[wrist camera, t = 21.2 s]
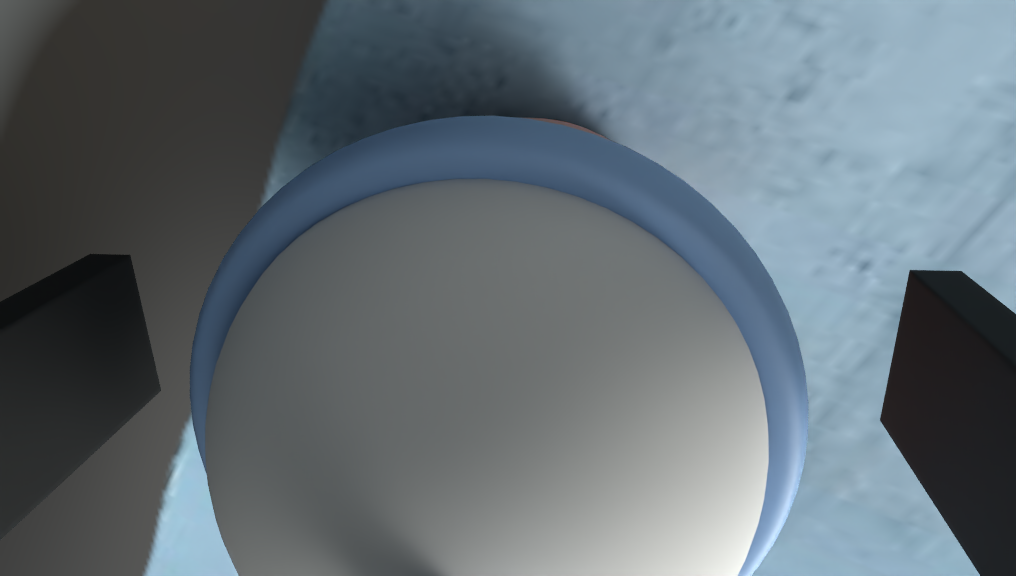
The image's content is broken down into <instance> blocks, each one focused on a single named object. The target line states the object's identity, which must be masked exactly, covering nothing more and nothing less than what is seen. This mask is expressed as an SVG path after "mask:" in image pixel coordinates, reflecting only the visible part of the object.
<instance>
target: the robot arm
mask: <svg viewBox="0 0 1016 576" xmlns="http://www.w3.org/2000/svg"><path fill="white" fill-rule="evenodd" d="M160 391H161V388H160V384H159V379H158V375H157V371H156V366H155V362H154V357H153V353H152V349H151V344H150V340H149V335H148V331H147V327H146V322H145V318H144V314H143V309H142V305H141V300H140V296H139V292H138V287H137V283H136V279H135V274H134V270H133V265H132V261H131V257H130V255H106V254H90V255H88V256H86V257H84V258H82V259H80V260H78V261H76V262H74V263H73V264H71V265H69V266H67V267H65V268H63V269H61V270H59V271H57V272H56V273H54V274H52V275H50V276H48V277H46V278H44V279H42V280H41V281H39V282H37V283H35V284H33V285H31V286H29V287H28V288H25V289H24V290H22V291H20V292H18V293H16V294H14V295H13V296H11V297H9V298H7V299H5V300H3V301H1V302H0V540H1V539H2V538H3V537H4V536H5V535H6V534H7V533H8V532H9V531H10V530H12V528H14V527H15V526H16V525H17V524H18V523H19V522H20V521H21V520H22V519H23V518H24V517H25V516H27V515H28V514H29V513H30V512H31V511H32V510H33V509H34V508H35V507H36V506H37V505H38V504H40V503H41V502H42V501H43V500H44V499H45V498H46V497H47V496H48V495H49V494H50V493H51V492H52V491H53V490H55V489H56V488H57V487H58V486H59V485H60V484H61V483H62V482H63V481H64V480H65V479H66V478H67V477H68V476H70V475H71V474H72V473H73V472H74V471H75V470H76V469H77V468H78V467H79V466H80V465H81V464H83V463H84V462H85V461H86V460H87V459H88V458H89V457H90V456H91V455H92V454H93V453H94V452H95V451H97V450H98V449H99V448H100V447H101V446H102V445H103V444H104V443H105V442H106V441H107V440H108V439H109V438H110V437H112V435H114V434H115V433H116V432H117V431H118V430H119V429H120V428H121V427H122V426H123V425H125V423H127V422H128V421H129V420H130V419H131V418H132V417H133V416H134V415H135V414H136V413H137V412H138V411H140V409H142V408H143V407H144V406H145V405H146V404H147V403H148V402H149V401H150V400H151V399H152V398H153V397H155V395H157V394H158V393H159V392H160ZM880 421H881V422H882V424H883V425H884V427H885V429H886V430H887V432H888V433H889V435H890V436H891V438H892V439H893V441H894V443H895V444H896V446H897V447H898V449H899V450H900V452H901V453H902V455H903V456H904V458H905V460H906V461H907V463H908V464H909V466H910V467H911V469H912V470H913V472H914V473H915V475H916V477H917V478H918V480H919V481H920V483H921V484H922V486H923V487H924V489H925V491H926V492H927V494H928V495H929V497H930V498H931V500H932V501H933V503H934V504H935V506H936V508H937V509H938V511H939V512H940V514H941V515H942V517H943V518H944V520H945V522H946V523H947V525H948V526H949V528H950V529H951V531H952V532H953V534H954V535H955V537H956V539H957V540H958V542H959V543H960V545H961V546H962V548H963V549H964V551H965V552H966V554H967V556H968V557H969V559H970V560H971V562H972V563H973V565H974V566H975V568H976V570H977V571H978V573H979V574H980V576H1016V314H1015V313H1014V312H1012V311H1011V310H1010V309H1009V308H1007V307H1006V306H1005V305H1004V304H1002V303H1001V302H1000V301H998V300H997V299H996V298H995V297H993V296H992V295H991V294H990V293H988V292H987V291H986V290H985V289H983V288H982V287H981V286H980V285H978V284H977V283H976V282H974V281H973V280H972V279H971V278H969V277H968V276H967V275H966V274H964V273H963V272H962V271H927V270H910V272H909V277H908V282H907V287H906V292H905V297H904V302H903V307H902V312H901V317H900V322H899V327H898V332H897V337H896V342H895V347H894V352H893V358H892V363H891V368H890V373H889V378H888V383H887V388H886V393H885V398H884V403H883V408H882V413H881V418H880Z"/></svg>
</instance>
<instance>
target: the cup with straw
mask: <svg viewBox="0 0 1016 576" xmlns="http://www.w3.org/2000/svg"><path fill="white" fill-rule="evenodd" d="M190 400H191V410H192V419H193V426H194V431H195V435H196V440H197V445H198V449H199V452H200V455H201V458H202V461H203V465H204V468H205V471H206V473H207V480H208V486H209V491H210V496H211V500H212V505H213V509H214V513H215V518H216V521H217V524H218V527H219V531H220V534H221V537H222V540H223V542H224V544H225V546H226V549H227V551H228V553H229V556H230V558H231V560H232V562H233V564H234V566H235V569H236V571H237V573H238V574H239V576H751V575H752V574H753V572H754V571H755V570H756V569H757V568H758V566H759V565H760V563H761V562H762V560H763V559H764V558H765V556H766V555H767V553H768V552H769V550H770V549H771V547H772V546H773V544H774V543H775V541H776V539H777V537H778V535H779V533H780V531H781V529H782V527H783V525H784V523H785V521H786V520H787V517H788V514H789V512H790V509H791V507H792V504H793V501H794V499H795V496H796V493H797V490H798V486H799V482H800V478H801V474H802V470H803V466H804V461H805V454H806V446H807V438H808V395H807V385H806V376H805V370H804V365H803V361H802V356H801V352H800V347H799V343H798V339H797V336H796V333H795V330H794V328H793V325H792V322H791V319H790V316H789V313H788V311H787V309H786V307H785V305H784V303H783V301H782V298H781V296H780V294H779V292H778V290H777V288H776V286H775V284H774V282H773V280H772V278H771V277H770V275H769V273H768V272H767V270H766V269H765V267H764V266H763V264H762V262H761V261H760V259H759V258H758V256H757V254H756V253H755V252H754V250H753V249H752V248H751V247H750V245H749V244H748V243H747V242H746V240H745V239H744V238H743V237H742V235H741V234H740V233H739V232H738V230H737V229H736V228H735V227H734V226H733V225H732V224H731V223H730V222H729V221H728V220H727V219H726V218H725V217H724V216H723V215H722V214H721V213H720V212H719V211H718V210H717V209H716V208H715V207H714V206H713V205H712V204H711V203H710V202H709V201H708V200H707V199H705V198H704V197H703V196H702V195H701V194H699V193H698V192H697V191H696V190H695V189H693V188H692V187H691V186H690V185H688V184H687V183H686V182H685V181H683V180H682V179H680V178H679V177H677V176H676V175H674V174H673V173H671V172H670V171H668V170H667V169H665V168H664V167H662V166H661V165H659V164H658V163H656V162H654V161H652V160H650V159H648V158H646V157H644V156H643V155H641V154H639V153H637V152H635V151H633V150H631V149H629V148H627V147H625V146H623V145H620V144H618V143H615V142H613V141H611V140H609V139H608V138H606V137H604V136H602V135H600V134H597V133H595V132H593V131H591V130H589V129H587V128H584V127H581V126H579V125H575V124H572V123H569V122H565V121H559V120H552V119H545V118H515V117H503V116H460V117H451V118H443V119H434V120H427V121H423V122H418V123H414V124H409V125H405V126H401V127H396V128H393V129H390V130H387V131H384V132H381V133H378V134H375V135H372V136H369V137H366V138H363V139H361V140H359V141H357V142H354V143H352V144H350V145H348V146H346V147H344V148H341V149H339V150H337V151H335V152H333V153H332V154H330V155H328V156H327V157H325V158H323V159H322V160H320V161H318V162H317V163H315V164H313V165H312V166H310V167H308V168H307V169H306V170H304V171H303V172H302V173H300V174H299V175H298V176H297V177H295V178H294V179H293V180H291V181H290V182H289V183H287V184H286V185H285V186H283V187H282V188H281V189H280V190H279V191H278V192H277V193H276V194H275V195H274V196H273V197H272V198H271V199H269V200H268V201H267V202H266V203H265V204H264V205H263V206H262V207H261V208H260V209H259V210H258V212H257V213H256V214H255V215H254V217H253V218H252V219H251V220H250V221H249V223H248V224H247V225H246V226H245V227H244V229H243V230H242V231H241V232H240V234H239V235H238V237H237V238H236V240H235V241H234V242H233V244H232V246H231V247H230V249H229V250H228V252H227V253H226V255H225V256H224V258H223V260H222V262H221V264H220V266H219V268H218V270H217V272H216V274H215V276H214V278H213V280H212V282H211V284H210V286H209V288H208V291H207V294H206V297H205V300H204V303H203V305H202V308H201V311H200V314H199V319H198V323H197V327H196V332H195V336H194V341H193V347H192V355H191V365H190Z"/></svg>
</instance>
